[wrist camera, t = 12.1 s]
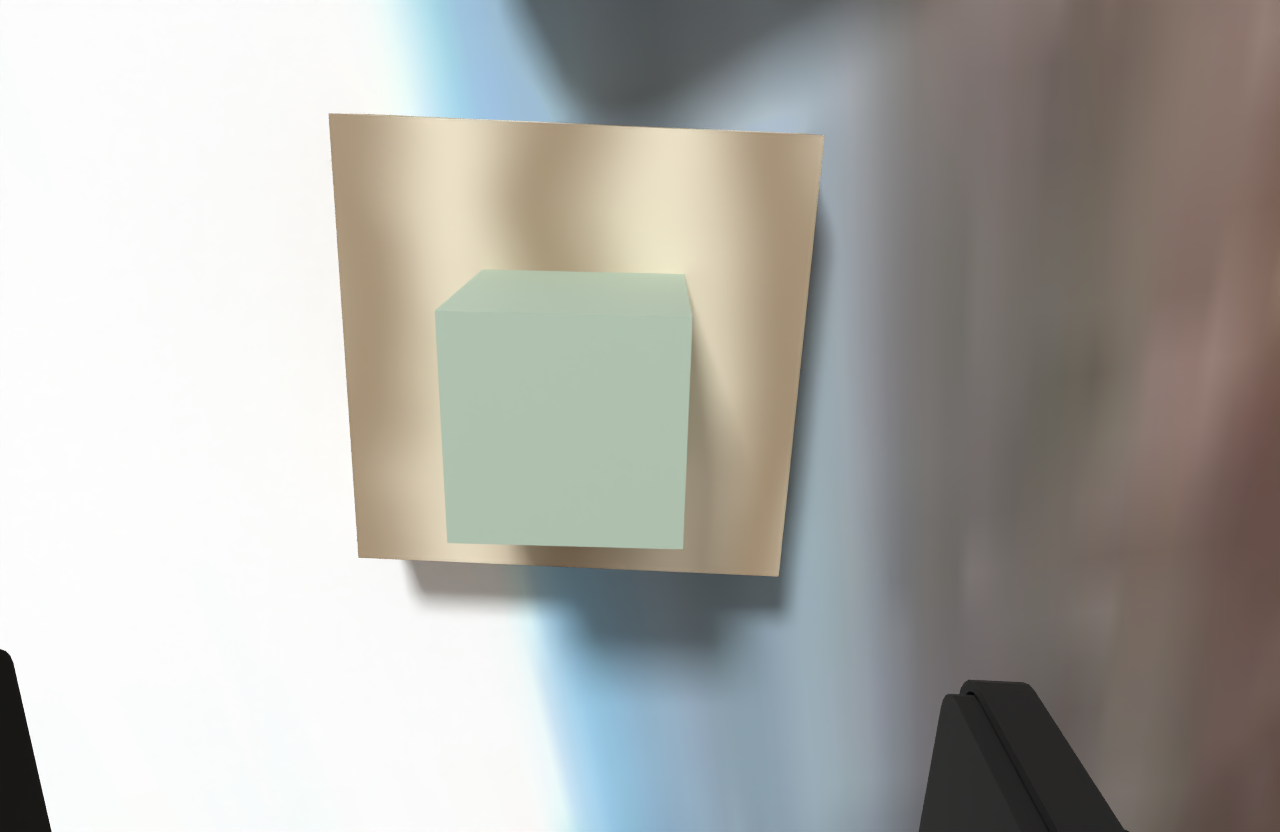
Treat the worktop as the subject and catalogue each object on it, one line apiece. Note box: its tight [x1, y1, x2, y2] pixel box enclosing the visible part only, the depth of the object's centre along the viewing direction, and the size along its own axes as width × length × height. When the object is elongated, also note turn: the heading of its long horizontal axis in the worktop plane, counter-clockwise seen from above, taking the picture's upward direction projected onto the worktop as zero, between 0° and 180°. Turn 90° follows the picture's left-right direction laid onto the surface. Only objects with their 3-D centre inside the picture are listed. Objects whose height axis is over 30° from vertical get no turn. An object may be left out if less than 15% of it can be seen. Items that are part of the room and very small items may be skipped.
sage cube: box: [435, 269, 692, 549], centre depth 24 cm, size 6×6×6 cm
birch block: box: [329, 114, 824, 576], centre depth 29 cm, size 14×14×4 cm
